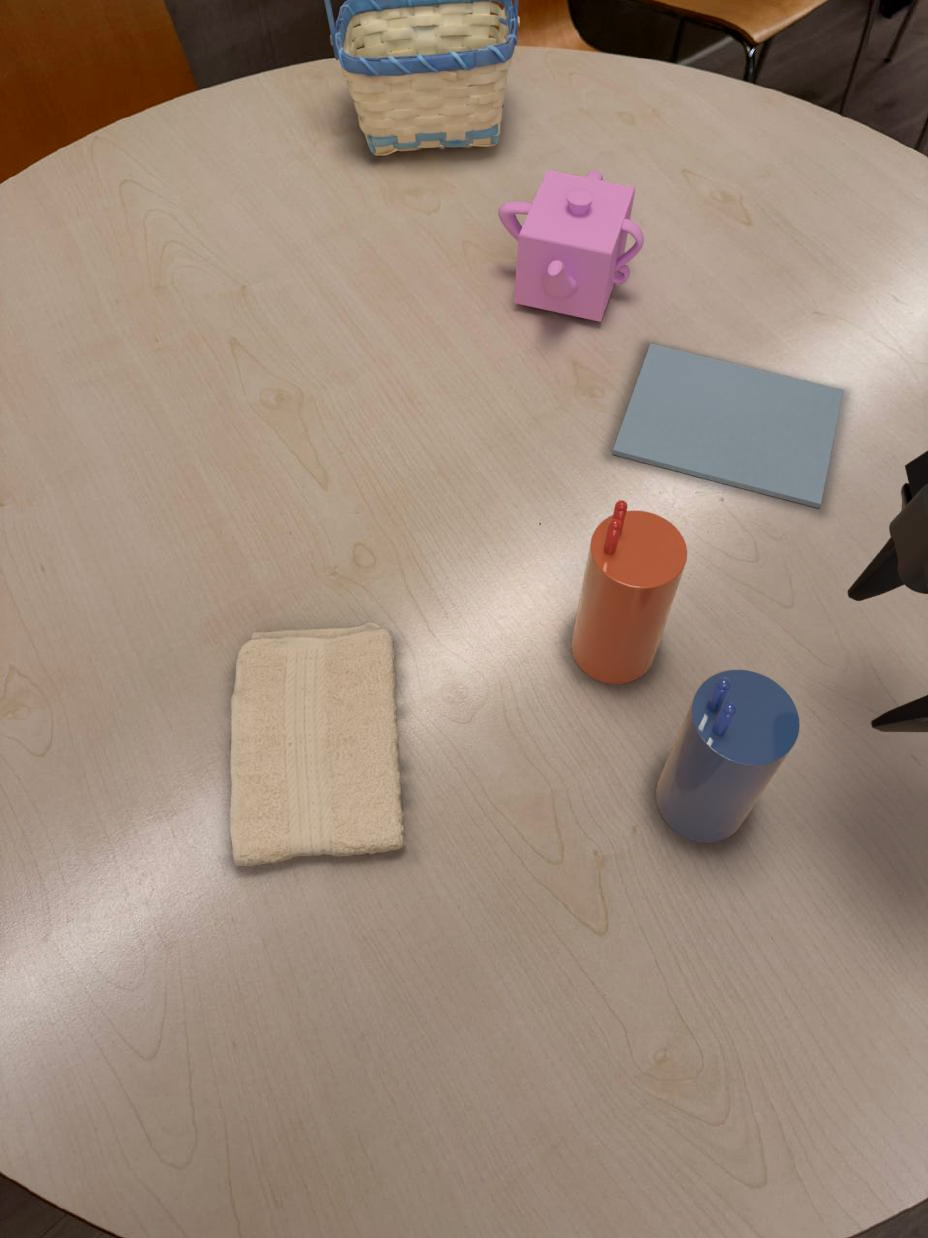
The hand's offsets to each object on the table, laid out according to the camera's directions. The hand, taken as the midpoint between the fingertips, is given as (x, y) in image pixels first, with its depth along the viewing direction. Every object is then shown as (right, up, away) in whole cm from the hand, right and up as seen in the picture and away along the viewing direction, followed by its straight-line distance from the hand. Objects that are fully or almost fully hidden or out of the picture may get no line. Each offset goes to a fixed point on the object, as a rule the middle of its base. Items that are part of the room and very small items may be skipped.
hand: (863, 659), depth 63 cm
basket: (-29, +57, +52) cm, 83 cm away
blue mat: (-1, +20, +29) cm, 35 cm away
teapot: (-15, +35, +38) cm, 54 cm away
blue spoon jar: (-8, -10, +10) cm, 16 cm away
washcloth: (-35, -7, +12) cm, 37 cm away
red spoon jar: (-13, 0, +16) cm, 21 cm away
